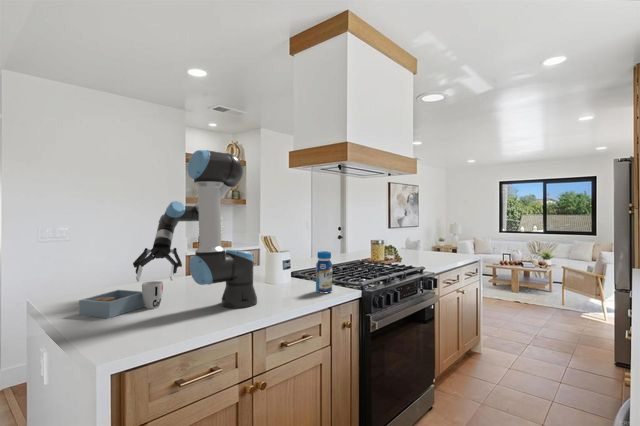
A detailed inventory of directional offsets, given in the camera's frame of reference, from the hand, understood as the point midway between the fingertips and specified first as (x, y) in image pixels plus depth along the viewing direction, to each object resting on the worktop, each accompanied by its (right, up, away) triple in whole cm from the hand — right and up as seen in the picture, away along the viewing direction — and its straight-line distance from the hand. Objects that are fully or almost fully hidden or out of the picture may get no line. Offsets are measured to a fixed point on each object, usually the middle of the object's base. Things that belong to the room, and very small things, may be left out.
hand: (154, 279), depth 157 cm
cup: (+2, -11, -6) cm, 12 cm away
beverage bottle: (+73, -11, +24) cm, 78 cm away
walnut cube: (-12, -10, -16) cm, 22 cm away
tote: (-11, -10, -11) cm, 19 cm away
